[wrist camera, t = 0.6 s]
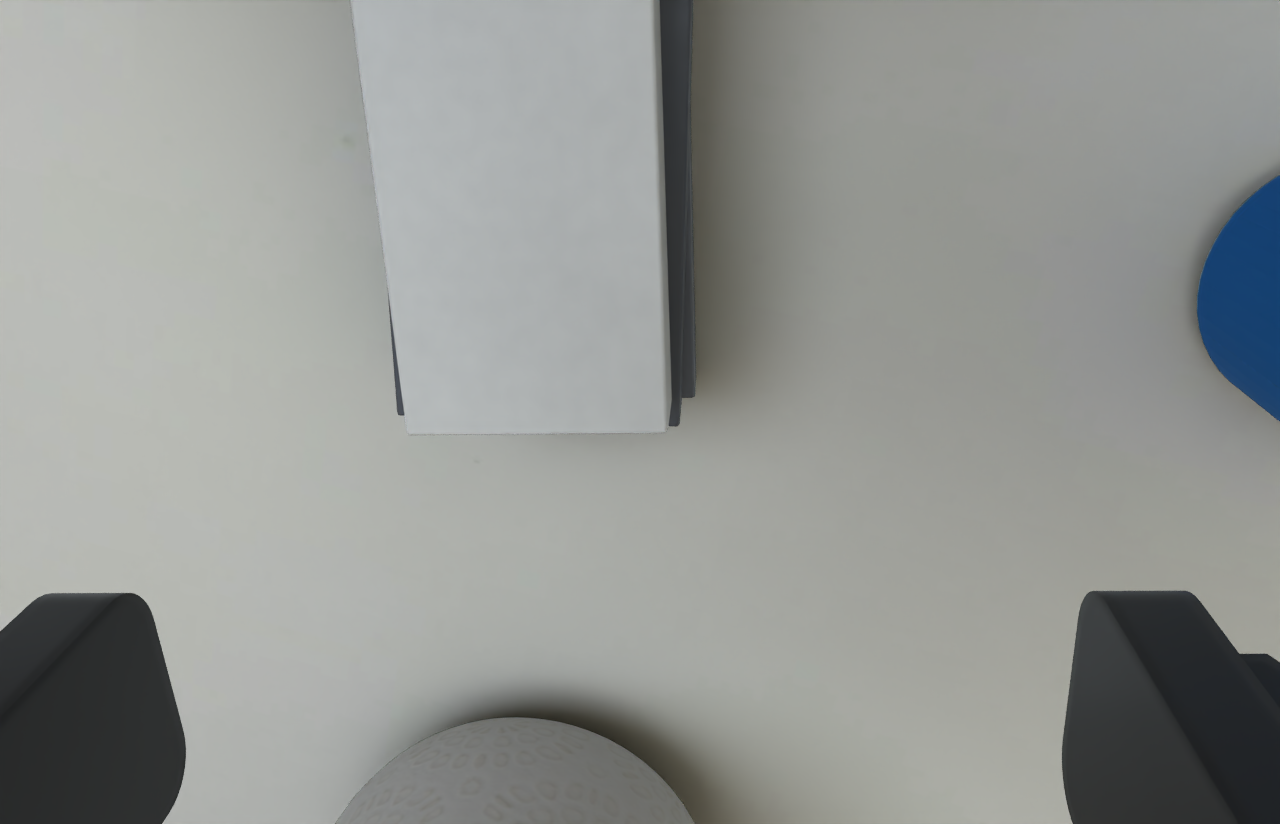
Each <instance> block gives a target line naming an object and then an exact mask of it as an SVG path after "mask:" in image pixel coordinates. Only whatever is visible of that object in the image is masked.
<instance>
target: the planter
mask: <svg viewBox="0 0 1280 824" xmlns="http://www.w3.org/2000/svg"><path fill="white" fill-rule="evenodd" d="M335 824H695V823H694V821H693V820H692V818H691V816H690V814H689V813H688V811H687V810H686V808H685V806H684V805H683V803H682V802H681V801H680V799H679V798H678V797H677V795H676V794H675V793H674V791H673V790H672V789H671V788H670V787H669V786H668V784H667V783H666V782H665V781H664V780H663V779H662V778H661V777H660V776H659V775H658V774H657V773H656V772H655V771H654V770H653V769H652V768H650V767H649V766H648V765H647V764H646V763H645V762H643V761H642V760H641V759H639V758H638V757H637V756H635V755H634V754H633V753H631V752H630V751H628V750H627V749H625V748H623V747H622V746H620V745H618V744H617V743H615V742H613V741H611V740H609V739H607V738H605V737H603V736H600V735H598V734H596V733H593V732H591V731H588V730H585V729H583V728H580V727H576V726H573V725H569V724H566V723H561V722H557V721H551V720H545V719H537V718H521V717H509V718H494V719H486V720H480V721H475V722H470V723H466V724H463V725H459V726H456V727H453V728H450V729H447V730H444V731H442V732H439V733H437V734H435V735H432V736H430V737H428V738H426V739H424V740H422V741H420V742H418V743H417V744H415V745H413V746H412V747H410V748H409V749H407V750H406V751H404V752H403V753H401V754H400V755H398V756H397V757H396V758H394V759H393V760H392V761H390V762H389V763H388V764H387V765H386V766H384V767H383V768H382V769H381V770H380V771H379V772H378V773H377V774H376V775H375V776H374V777H373V778H371V779H370V780H369V781H368V782H367V783H366V784H365V786H364V787H363V788H362V789H361V790H360V791H359V792H358V793H357V794H356V795H355V797H354V798H353V799H352V800H351V802H350V803H349V804H348V806H347V807H346V809H345V810H344V812H343V813H342V814H341V816H340V817H339V819H338V820H337V822H336V823H335Z"/></svg>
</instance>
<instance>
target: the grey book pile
mask: <svg viewBox="0 0 1280 824" xmlns="http://www.w3.org/2000/svg"><path fill="white" fill-rule="evenodd" d="M692 30H693V0H660V31H661V64H662V96H663V129H664V162H665V194H666V227H667V260H668V292H669V325H670V358H671V390H672V402H671V410H670V418H669V426H678V425H679V423H680V413H681V404H682V398H693V397H694V396H695V387H696V342H695V295H694V248H693V200H692V153H691V106H690V98H691V64H692ZM388 299H389V294H388ZM389 312H390V324H391V337H392V350H393V362H394V375H395V388H396V401H397V412H398V415H404V408H403V401H402V393H401V385H400V378H399V370H398V363H397V355H396V347H395V340H394V332H393V325H392V317H391V309H390V302H389Z"/></svg>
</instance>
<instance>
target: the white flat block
mask: <svg viewBox="0 0 1280 824" xmlns="http://www.w3.org/2000/svg"><path fill="white" fill-rule="evenodd" d="M350 6H351V13H352V21H353V28H354V36H355V44H356V51H357V59H358V66H359V74H360V82H361V89H362V97H363V104H364V112H365V120H366V127H367V135H368V142H369V150H370V158H371V165H372V173H373V180H374V188H375V196H376V203H377V211H378V218H379V226H380V234H381V241H382V249H383V256H384V264H385V272H386V279H387V287H388V294H389V302H390V309H391V317H392V325H393V332H394V340H395V347H396V355H397V363H398V370H399V378H400V385H401V393H402V401H403V408H404V416H405V423H406V431H407V434H408V435H503V434H639V433H666V432H667V431H668V426H669V418H670V410H671V402H672V390H671V358H670V325H669V292H668V260H667V227H666V194H665V162H664V129H663V96H662V64H661V31H660V0H350Z"/></svg>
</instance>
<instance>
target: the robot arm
mask: <svg viewBox="0 0 1280 824" xmlns="http://www.w3.org/2000/svg"><path fill="white" fill-rule="evenodd" d="M185 759H186V745H185V737H184V732H183V728H182V724H181V720H180V716H179V713H178V709H177V705H176V701H175V697H174V694H173V690H172V686H171V682H170V679H169V675H168V671H167V667H166V663H165V660H164V656H163V652H162V648H161V645H160V641H159V637H158V633H157V629H156V626H155V622H154V618H153V616H152V613H151V610H150V608H149V606H148V605H147V603H146V602H145V601H144V600H143V599H142V598H141V597H140V596H138V595H136V594H133V593H51V594H46V595H43V596H41V597H39V598H37V599H36V600H34V601H33V602H32V603H31V604H30V605H28V606H27V607H26V608H25V609H24V610H23V611H22V612H21V613H20V614H19V615H18V616H17V617H16V618H14V619H13V620H12V621H11V622H10V623H9V624H8V625H7V626H6V627H5V628H4V629H3V630H1V631H0V824H162V823H163V821H164V820H165V818H166V817H167V815H168V814H169V812H170V810H171V809H172V807H173V805H174V803H175V801H176V798H177V796H178V793H179V790H180V787H181V784H182V780H183V775H184V769H185ZM1062 770H1063V781H1064V789H1065V795H1066V800H1067V805H1068V809H1069V813H1070V816H1071V820H1072V822H1073V824H1280V662H1278V661H1277V660H1275V659H1274V658H1272V657H1271V656H1269V655H1268V654H1239V653H1238V652H1237V650H1236V649H1235V648H1234V646H1233V645H1232V644H1231V642H1230V641H1229V640H1228V638H1227V637H1226V636H1225V634H1224V633H1223V631H1222V630H1221V629H1220V627H1219V626H1218V625H1217V623H1216V622H1215V621H1214V619H1213V618H1212V617H1211V615H1210V614H1209V613H1208V611H1207V610H1206V609H1205V607H1204V606H1203V605H1202V603H1201V602H1200V601H1199V600H1198V599H1197V597H1196V596H1195V595H1193V594H1192V593H1190V592H1188V591H1091V592H1089V593H1088V594H1087V595H1086V596H1085V598H1084V599H1083V602H1082V604H1081V608H1080V611H1079V617H1078V624H1077V632H1076V640H1075V648H1074V656H1073V664H1072V672H1071V680H1070V688H1069V696H1068V704H1067V711H1066V719H1065V727H1064V735H1063V745H1062Z"/></svg>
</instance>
